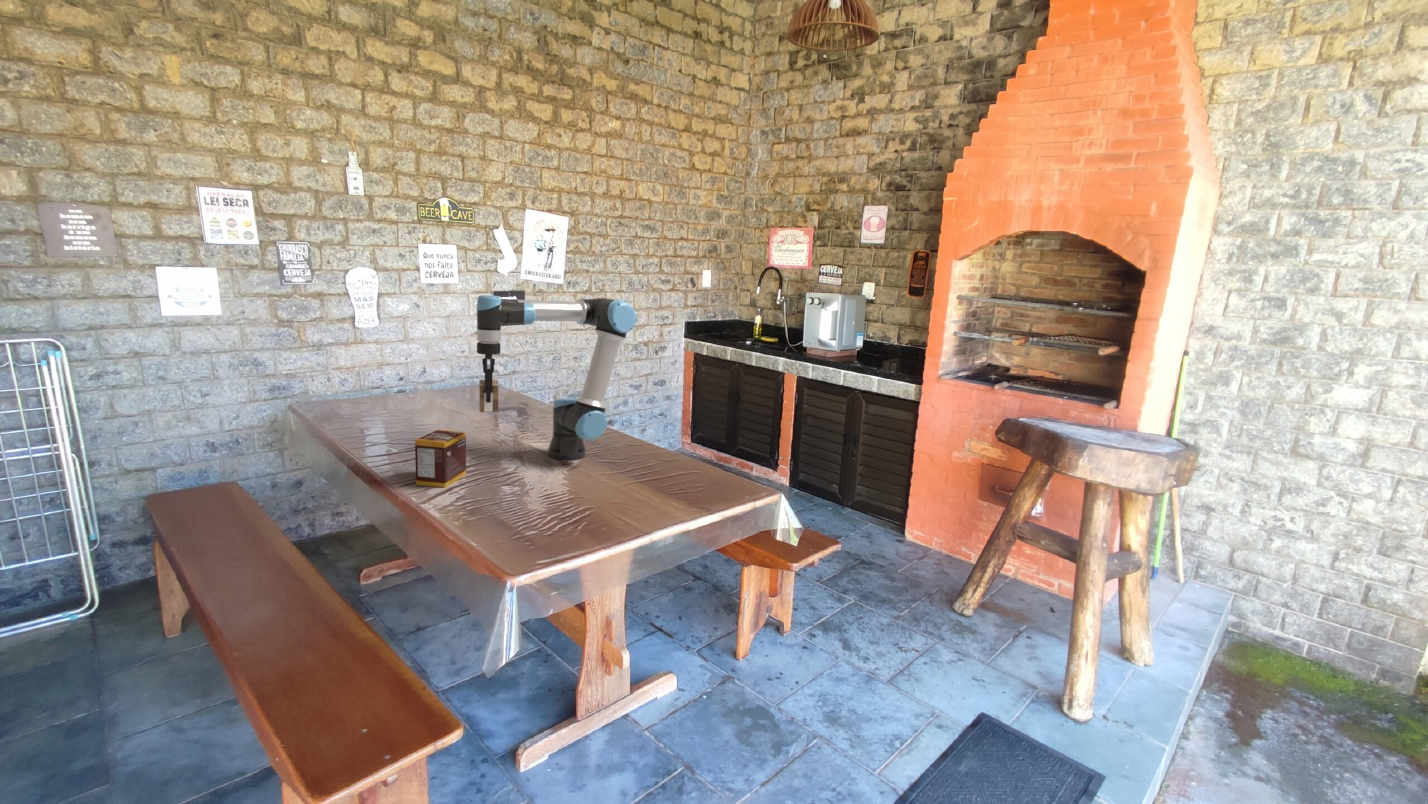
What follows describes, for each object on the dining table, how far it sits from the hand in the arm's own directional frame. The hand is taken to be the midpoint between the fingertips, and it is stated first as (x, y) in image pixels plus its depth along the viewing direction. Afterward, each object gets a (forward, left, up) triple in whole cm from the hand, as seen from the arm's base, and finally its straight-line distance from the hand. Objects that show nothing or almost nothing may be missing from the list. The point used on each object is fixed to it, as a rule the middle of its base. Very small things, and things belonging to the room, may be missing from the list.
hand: (488, 409), depth 224 cm
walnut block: (0, 0, 0) cm, 0 cm away
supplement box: (+15, -1, -25) cm, 30 cm away
